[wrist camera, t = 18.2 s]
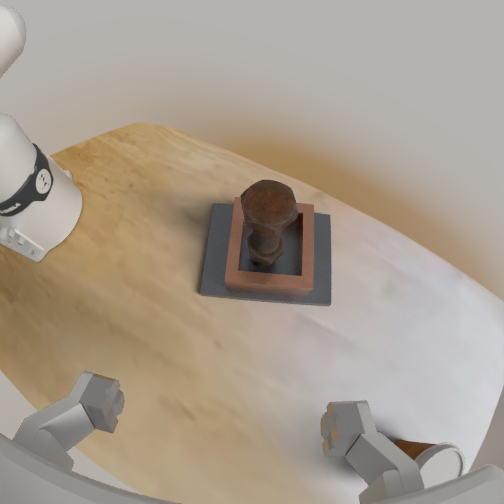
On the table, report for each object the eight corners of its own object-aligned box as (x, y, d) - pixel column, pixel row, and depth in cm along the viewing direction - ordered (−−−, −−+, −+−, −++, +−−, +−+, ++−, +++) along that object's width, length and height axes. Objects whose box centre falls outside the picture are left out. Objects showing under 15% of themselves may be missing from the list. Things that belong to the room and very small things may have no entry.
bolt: (243, 242, 43) (237, 181, 29) (277, 236, 43) (287, 173, 29) (250, 280, 40) (248, 233, 26) (286, 274, 41) (302, 224, 27)
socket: (201, 295, 41) (195, 285, 36) (214, 207, 46) (211, 189, 41) (328, 306, 41) (339, 298, 36) (328, 218, 46) (337, 201, 41)
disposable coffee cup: (400, 419, 34) (446, 430, 23) (431, 449, 32) (477, 462, 21) (356, 466, 32) (392, 494, 20) (391, 493, 29) (430, 520, 18)
